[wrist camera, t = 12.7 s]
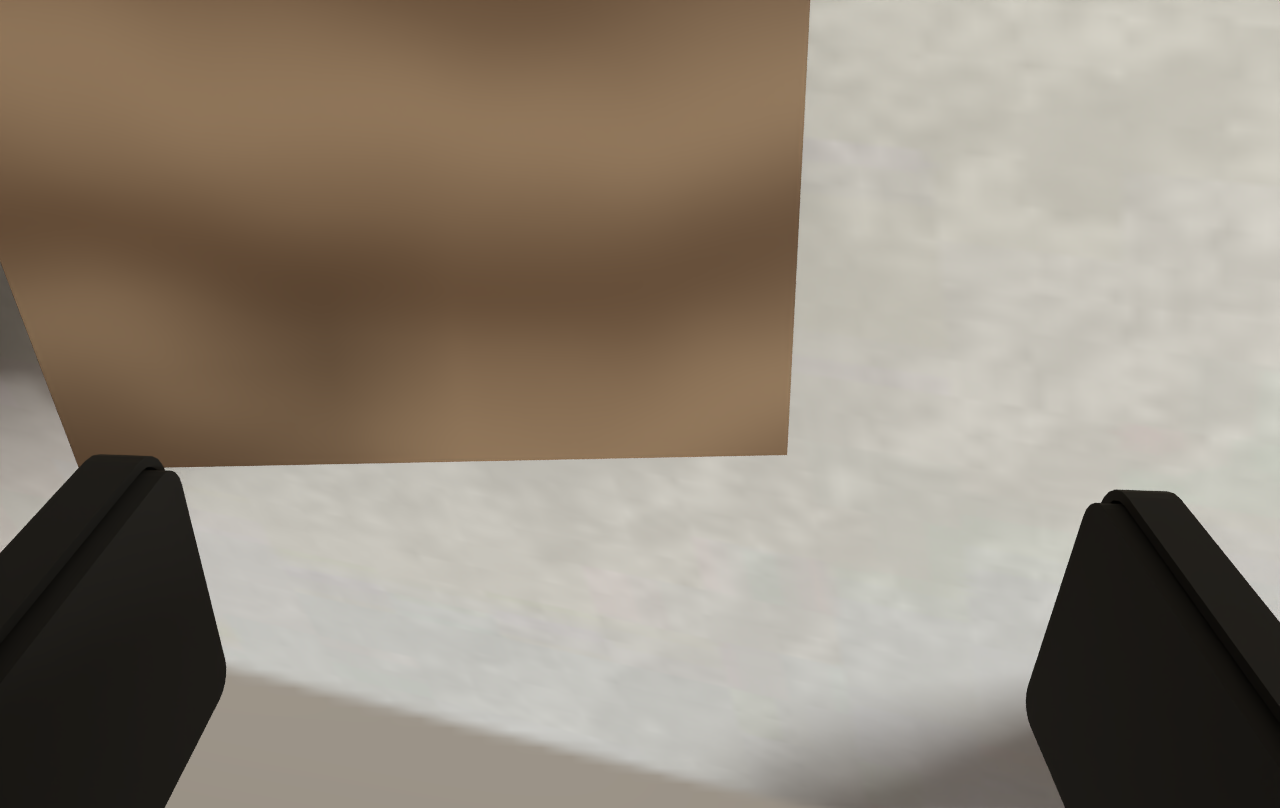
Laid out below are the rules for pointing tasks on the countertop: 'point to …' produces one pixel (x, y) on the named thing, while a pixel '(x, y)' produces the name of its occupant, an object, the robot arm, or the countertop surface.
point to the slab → (406, 225)
